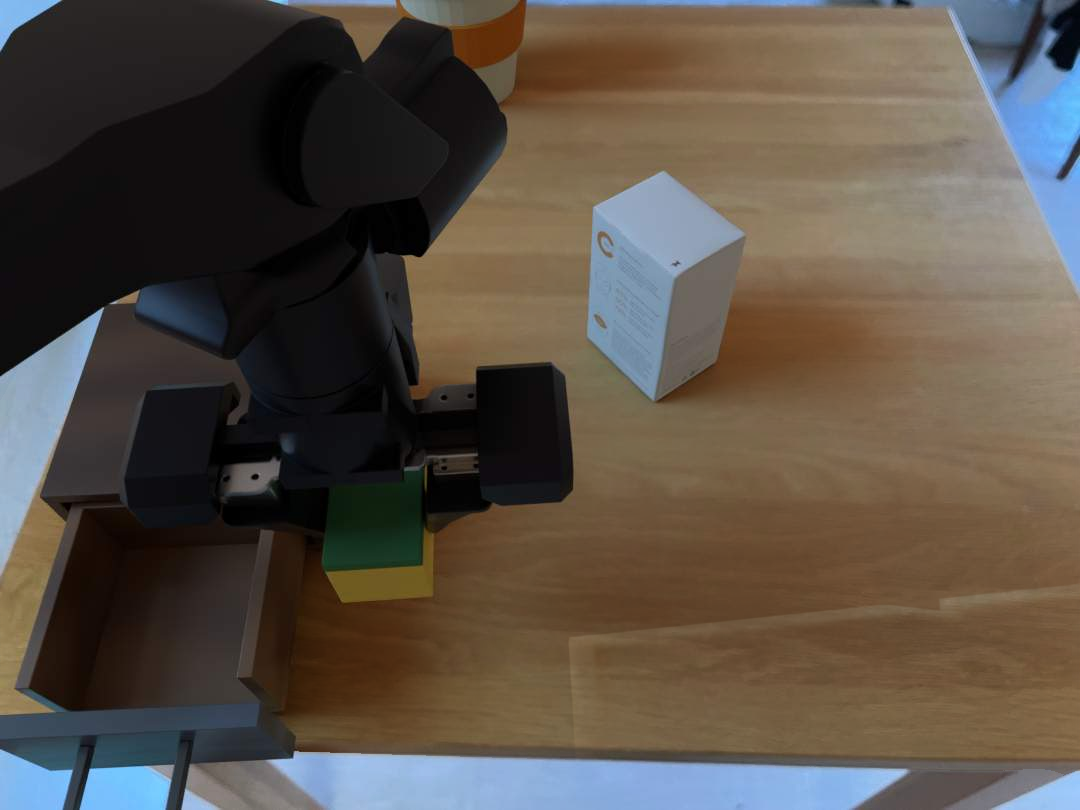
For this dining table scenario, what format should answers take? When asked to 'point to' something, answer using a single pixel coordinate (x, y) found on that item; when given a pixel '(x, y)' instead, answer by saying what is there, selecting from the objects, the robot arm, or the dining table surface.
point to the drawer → (159, 648)
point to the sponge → (379, 540)
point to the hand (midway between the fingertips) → (387, 527)
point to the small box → (661, 282)
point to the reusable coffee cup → (478, 35)
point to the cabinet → (124, 405)
